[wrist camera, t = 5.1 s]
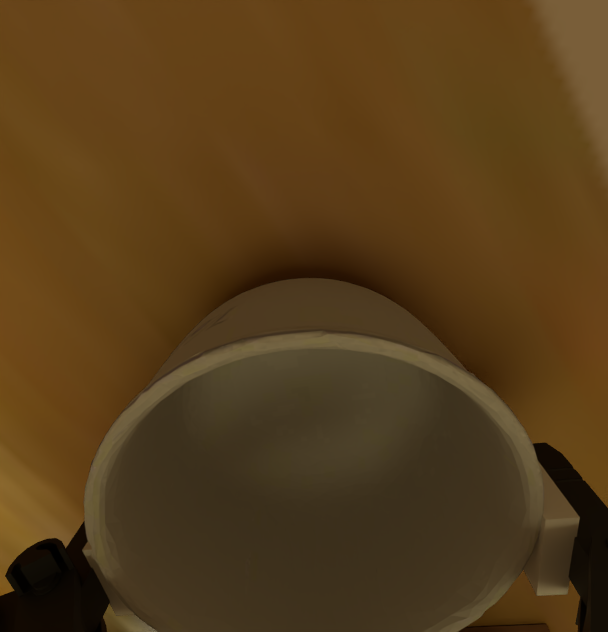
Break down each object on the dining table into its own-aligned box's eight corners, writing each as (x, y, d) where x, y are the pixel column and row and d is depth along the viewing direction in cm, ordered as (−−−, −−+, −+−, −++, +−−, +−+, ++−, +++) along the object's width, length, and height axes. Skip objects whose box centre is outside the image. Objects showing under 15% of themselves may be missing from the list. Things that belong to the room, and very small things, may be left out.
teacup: (206, 223, 14) (75, 286, 6) (484, 284, 14) (665, 409, 7) (175, 497, 19) (82, 709, 11) (382, 535, 19) (421, 763, 12)
